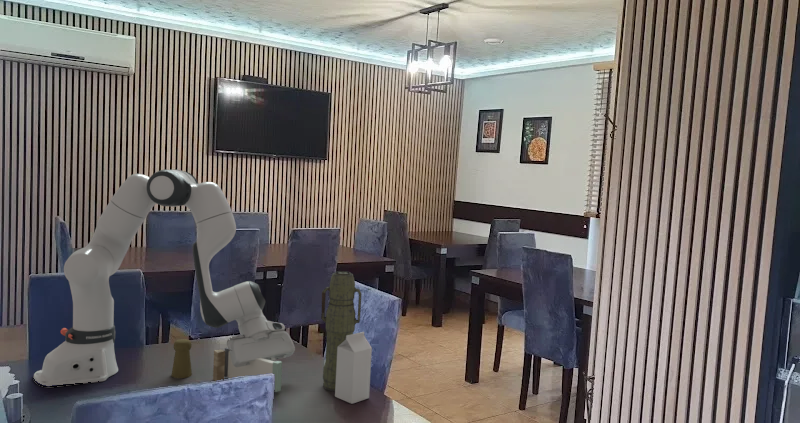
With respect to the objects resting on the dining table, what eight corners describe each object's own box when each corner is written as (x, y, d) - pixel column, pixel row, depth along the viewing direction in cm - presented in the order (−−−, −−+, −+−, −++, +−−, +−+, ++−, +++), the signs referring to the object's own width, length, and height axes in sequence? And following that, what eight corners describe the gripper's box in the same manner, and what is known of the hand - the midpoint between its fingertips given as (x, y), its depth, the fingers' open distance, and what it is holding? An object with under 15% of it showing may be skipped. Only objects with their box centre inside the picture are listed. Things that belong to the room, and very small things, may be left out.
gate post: (216, 381, 188) (217, 352, 187) (212, 379, 190) (214, 350, 189) (223, 380, 189) (225, 351, 189) (220, 378, 191) (221, 349, 190)
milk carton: (369, 398, 182) (372, 334, 180) (351, 404, 176) (355, 338, 175) (352, 391, 186) (355, 329, 185) (334, 397, 181) (337, 333, 180)
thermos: (317, 380, 194) (323, 269, 191) (355, 381, 195) (361, 270, 192) (317, 391, 185) (322, 274, 182) (357, 391, 186) (363, 275, 184)
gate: (222, 376, 191) (223, 348, 190) (227, 374, 193) (228, 347, 192) (276, 392, 180) (277, 363, 180) (281, 390, 182) (282, 361, 181)
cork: (185, 379, 188) (186, 343, 188) (167, 376, 190) (168, 341, 189) (195, 373, 194) (196, 338, 194) (178, 370, 196) (179, 336, 195)
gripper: (228, 332, 183) (244, 375, 177) (288, 323, 197) (304, 362, 191) (221, 343, 187) (235, 385, 181) (279, 333, 201) (295, 371, 195)
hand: (271, 373), depth 186 cm, fingers closed
